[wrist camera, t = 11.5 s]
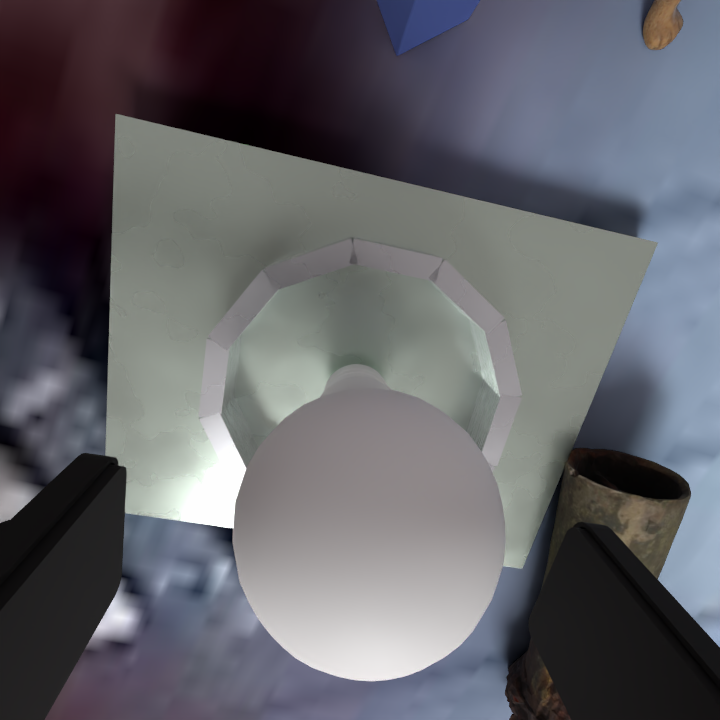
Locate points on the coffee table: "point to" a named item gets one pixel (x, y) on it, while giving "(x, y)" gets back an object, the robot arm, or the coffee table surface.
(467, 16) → the walkman
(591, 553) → the robot arm
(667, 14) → the lion figurine
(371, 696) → the coffee table surface
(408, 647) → the lightbulb
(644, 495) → the brown camo elongated piece
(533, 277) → the duct collar
